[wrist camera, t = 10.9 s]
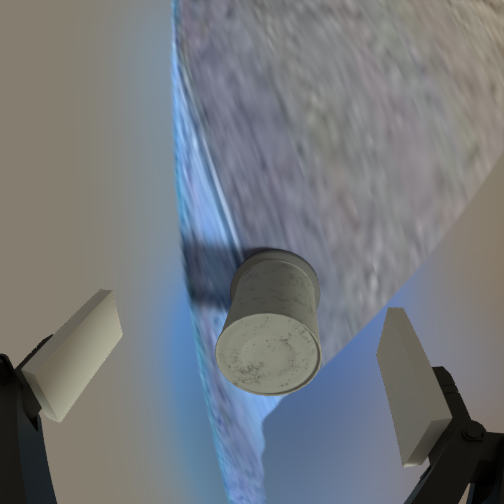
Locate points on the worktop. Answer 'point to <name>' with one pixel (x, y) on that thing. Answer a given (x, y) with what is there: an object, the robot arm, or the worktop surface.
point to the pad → (277, 255)
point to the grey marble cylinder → (271, 331)
